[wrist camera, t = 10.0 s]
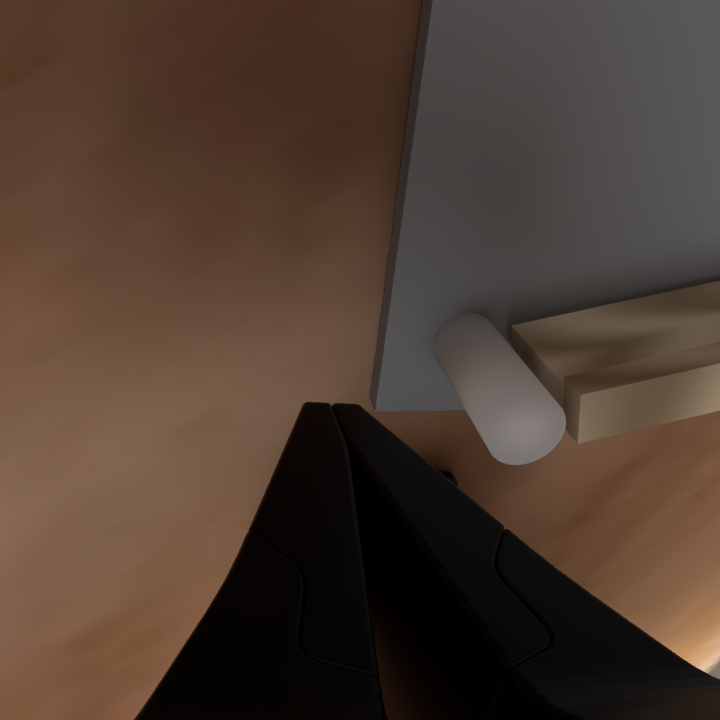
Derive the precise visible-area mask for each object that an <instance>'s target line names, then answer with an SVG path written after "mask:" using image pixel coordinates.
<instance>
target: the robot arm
mask: <svg viewBox="0 0 720 720" xmlns="http://www.w3.org/2000/svg"><path fill="white" fill-rule="evenodd" d="M134 720H720V679H717V678H715V677H713V676H711V675H709V674H707V673H705V672H703V671H702V670H700V669H698V668H696V667H694V666H693V665H691V664H690V663H688V662H687V661H685V660H684V659H682V658H681V657H679V656H678V655H676V654H675V653H674V652H672V651H671V650H669V649H668V648H667V647H665V646H664V645H662V644H661V643H659V642H658V641H657V640H655V639H654V638H652V637H651V636H650V635H648V634H647V633H645V632H644V631H643V630H641V629H640V628H638V627H637V626H636V625H634V624H633V623H631V622H630V621H628V620H627V619H626V618H624V617H623V616H621V615H620V614H619V613H617V612H616V611H614V610H613V609H612V608H610V607H609V606H607V605H606V604H604V603H603V602H602V601H600V600H599V599H597V598H596V597H595V596H593V595H592V594H590V593H589V592H588V591H586V590H585V589H584V588H582V587H581V586H580V585H578V584H577V583H575V582H574V581H573V580H571V579H570V578H569V577H567V576H566V575H565V574H563V573H562V572H561V571H559V570H558V569H557V568H555V567H554V566H553V565H552V564H550V563H549V562H548V561H546V560H545V559H544V558H543V557H541V556H540V555H539V554H538V553H536V552H535V551H534V550H533V549H531V548H530V547H529V546H528V545H526V544H525V543H524V542H523V541H522V540H520V539H519V538H518V537H517V536H516V535H514V534H513V533H512V532H511V531H510V530H508V529H505V530H504V526H503V525H502V524H501V523H500V522H499V521H497V520H496V519H495V518H494V517H493V516H491V515H490V514H489V513H488V512H487V511H485V510H484V509H483V508H482V507H481V506H479V505H478V504H477V503H476V502H475V501H473V500H472V499H471V498H470V497H469V496H467V495H466V494H465V493H464V492H463V491H461V490H460V489H459V488H458V487H457V481H456V479H455V477H454V475H453V474H452V473H450V472H439V471H437V470H436V469H435V468H434V467H433V466H432V465H430V464H429V463H428V462H427V461H426V460H424V459H423V458H422V457H421V456H420V455H418V454H417V453H416V452H415V451H414V450H412V449H411V448H410V447H409V446H408V445H406V444H405V443H404V442H403V441H402V440H400V439H399V438H398V437H397V436H396V435H394V434H393V433H392V432H391V431H390V430H388V429H387V428H386V427H385V426H384V425H382V424H381V423H380V422H379V421H378V420H376V419H375V418H374V417H373V416H372V415H370V414H369V413H368V412H367V411H366V410H364V409H363V408H362V407H361V406H359V405H357V404H344V403H335V404H333V405H332V406H331V405H330V404H329V403H321V402H306V403H304V404H303V406H302V408H301V410H300V413H299V415H298V417H297V420H296V422H295V424H294V427H293V429H292V431H291V434H290V436H289V438H288V441H287V443H286V445H285V447H284V450H283V452H282V454H281V457H280V459H279V461H278V464H277V466H276V468H275V471H274V473H273V475H272V477H271V480H270V482H269V484H268V487H267V489H266V491H265V494H264V496H263V498H262V501H261V503H260V505H259V508H258V510H257V512H256V514H255V517H254V519H253V521H252V524H251V526H250V528H249V532H248V533H247V534H246V537H245V539H244V541H243V544H242V546H241V548H240V550H239V553H238V555H237V557H236V559H235V561H234V563H233V565H232V567H231V569H230V571H229V573H228V575H227V577H226V579H225V581H224V582H223V584H222V586H221V587H220V589H219V591H218V593H217V594H216V596H215V598H214V599H213V601H212V603H211V604H210V606H209V608H208V609H207V611H206V613H205V614H204V616H203V617H202V619H201V620H200V622H199V623H198V625H197V626H196V628H195V629H194V631H193V632H192V634H191V635H190V637H189V638H188V640H187V642H186V643H185V645H184V646H183V648H182V649H181V651H180V652H179V654H178V655H177V657H176V658H175V660H174V661H173V663H172V664H171V666H170V668H169V669H168V671H167V672H166V674H165V675H164V677H163V678H162V680H161V681H160V683H159V684H158V686H157V687H156V689H155V690H154V692H153V694H152V695H151V696H150V698H149V699H148V701H147V702H146V704H145V705H144V706H143V708H142V709H141V711H140V712H139V713H138V715H137V716H136V717H135V719H134Z"/></svg>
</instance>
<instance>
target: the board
mask: <svg viewBox="0 0 720 720" xmlns="http://www.w3.org/2000/svg"><path fill="white" fill-rule="evenodd" d="M715 281H720V0H423V3H422V10H421V18H420V25H419V33H418V40H417V48H416V55H415V63H414V70H413V78H412V85H411V93H410V100H409V108H408V115H407V123H406V131H405V138H404V146H403V153H402V161H401V168H400V176H399V183H398V191H397V198H396V206H395V213H394V221H393V228H392V236H391V243H390V251H389V258H388V266H387V274H386V281H385V289H384V296H383V304H382V311H381V319H380V326H379V334H378V341H377V349H376V356H375V364H374V371H373V379H372V386H371V394H370V399H371V402H372V405H373V407H374V410H375V412H404V411H460V410H466V412H467V413H468V415H469V417H470V419H471V420H472V422H473V424H474V426H475V427H476V429H477V431H478V432H479V434H480V436H481V438H482V439H483V441H484V443H485V444H486V446H487V448H488V450H489V451H490V453H491V454H492V456H493V457H494V458H495V459H497V460H498V461H500V462H502V463H505V464H509V465H523V464H528V463H531V462H534V461H536V460H538V459H540V458H542V457H544V456H545V455H547V454H548V453H549V452H551V451H552V450H553V449H554V448H555V447H556V446H557V444H558V443H559V442H560V440H561V438H562V437H563V434H564V432H565V428H566V416H565V413H564V411H563V409H562V408H561V406H560V405H559V404H558V403H557V402H556V400H555V399H554V398H553V397H552V396H551V394H550V393H549V392H548V391H547V389H546V388H545V387H544V386H543V385H542V383H541V382H540V381H539V380H538V379H537V377H536V376H535V375H534V374H533V372H532V371H531V370H530V369H529V368H528V366H527V365H526V364H525V363H524V361H523V360H522V359H521V358H520V357H519V355H518V354H517V353H516V352H515V351H514V349H513V348H512V325H516V324H520V323H525V322H530V321H534V320H539V319H544V318H548V317H553V316H558V315H562V314H567V313H572V312H576V311H581V310H585V309H590V308H595V307H599V306H604V305H609V304H613V303H618V302H623V301H627V300H632V299H636V298H641V297H646V296H650V295H655V294H660V293H664V292H669V291H674V290H678V289H683V288H687V287H692V286H697V285H701V284H706V283H711V282H715Z"/></svg>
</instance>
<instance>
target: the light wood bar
mask: <svg viewBox="0 0 720 720" xmlns="http://www.w3.org/2000/svg"><path fill="white" fill-rule="evenodd" d="M512 348H513V349H514V351H515V352H516V353H517V354H518V355H519V357H520V358H521V359H522V360H523V361H524V363H525V364H526V365H527V366H528V368H529V369H530V370H531V371H532V372H533V374H534V375H535V376H536V377H537V379H538V380H539V381H540V382H541V383H542V385H543V386H544V387H545V388H546V389H547V391H548V392H549V393H550V394H551V396H552V397H553V398H554V399H555V400H556V402H557V403H558V404H559V405H560V406H561V408H562V409H563V411H564V413H565V416H566V428H565V429H566V430H567V431H568V433H569V434H570V435H571V436H572V438H573V439H574V440H575V441H576V443H577V444H581V443H585V442H589V441H593V440H598V439H602V438H606V437H610V436H615V435H619V434H623V433H627V432H632V431H636V430H640V429H644V428H649V427H653V426H657V425H661V424H666V423H670V422H674V421H678V420H683V419H687V418H691V417H695V416H700V415H704V414H708V413H712V412H717V411H720V281H715V282H711V283H706V284H701V285H697V286H692V287H687V288H683V289H678V290H674V291H669V292H664V293H660V294H655V295H650V296H646V297H641V298H636V299H632V300H627V301H623V302H618V303H613V304H609V305H604V306H599V307H595V308H590V309H585V310H581V311H576V312H572V313H567V314H562V315H558V316H553V317H548V318H544V319H539V320H534V321H530V322H525V323H520V324H516V325H512Z"/></svg>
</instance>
